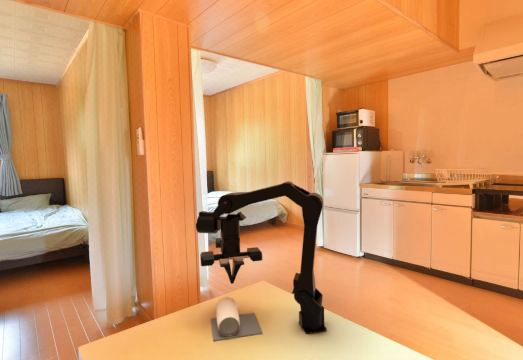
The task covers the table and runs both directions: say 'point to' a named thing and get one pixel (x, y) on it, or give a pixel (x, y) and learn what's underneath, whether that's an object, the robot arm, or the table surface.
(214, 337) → the mat
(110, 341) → the table surface
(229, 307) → the can
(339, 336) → the table surface
